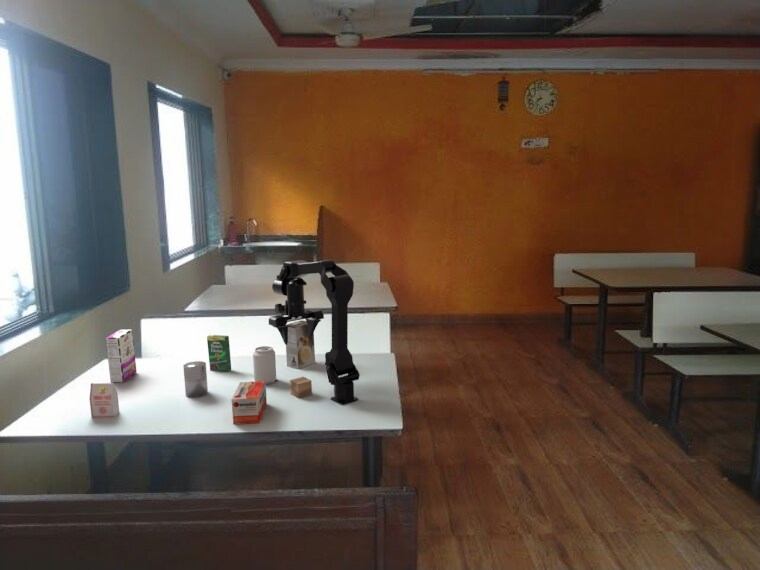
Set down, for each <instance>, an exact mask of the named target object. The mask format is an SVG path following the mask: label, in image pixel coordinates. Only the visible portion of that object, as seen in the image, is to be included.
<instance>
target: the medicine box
mask: <svg viewBox="0 0 760 570" xmlns="http://www.w3.org/2000/svg"><path fill="white" fill-rule="evenodd" d="M266 385H267V384H266V381H255V380H254V381H240V382H239V383H238V385H237V387H236V390H235V391H234V394H233V395H232V397H231V398H230V399H231V410H232V411H231V412H232V423H233V424H232V425H244V424H260V423H261V422H262V419H263V417H264V413H265V410H266V407H267V403H268V402H267V400H268V399H267V386H266Z"/></svg>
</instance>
